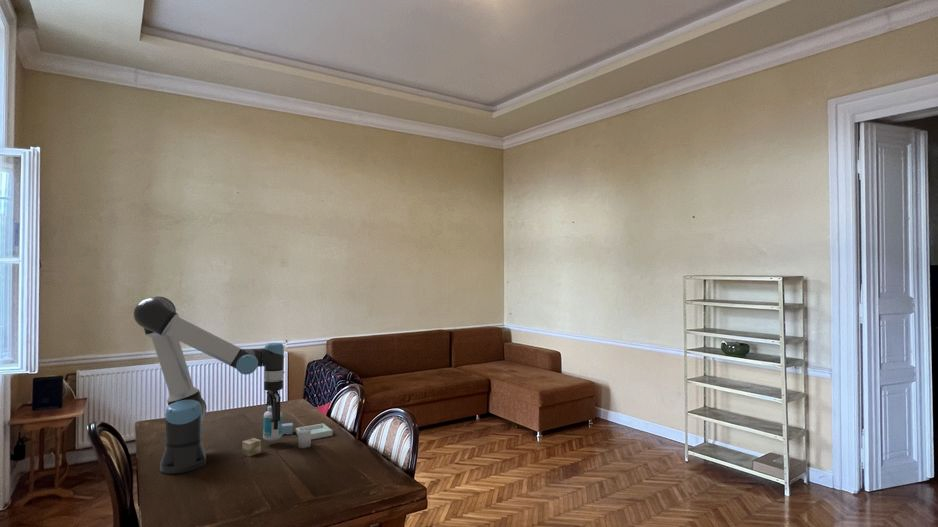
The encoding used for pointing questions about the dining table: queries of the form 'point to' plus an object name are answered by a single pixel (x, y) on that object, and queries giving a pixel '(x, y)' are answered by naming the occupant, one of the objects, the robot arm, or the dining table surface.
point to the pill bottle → (270, 425)
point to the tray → (317, 430)
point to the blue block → (287, 428)
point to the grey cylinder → (304, 438)
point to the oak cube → (251, 447)
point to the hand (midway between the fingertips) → (272, 434)
